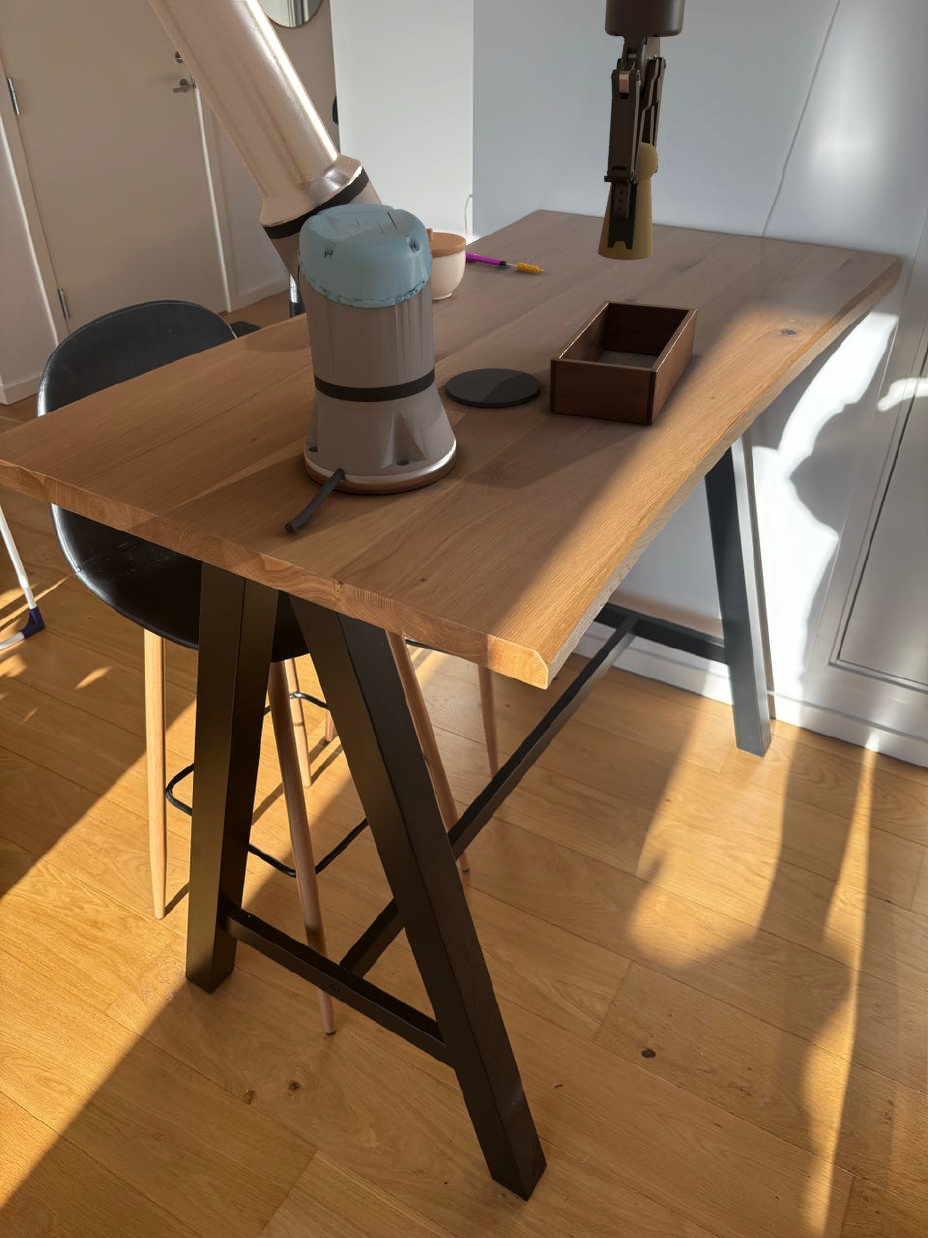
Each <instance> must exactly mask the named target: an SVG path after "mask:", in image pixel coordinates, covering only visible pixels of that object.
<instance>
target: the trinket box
mask: <svg viewBox="0 0 928 1238" xmlns="http://www.w3.org/2000/svg"><path fill="white" fill-rule="evenodd" d="M425 228H426V230H427V233H428V238H429V247H430V250H431V253H432V258H433V260H432V272H431V284H432V301H438V300H439V301H440V300H444V299H447V298H449V297H451V296H452V295H453V292H454V291H455V290H456V289H457V287H458V286H459V285H460V284H461V282H462V280H463V277H464V274H465V269H466V260H465V259H466V253H467V252H466V248H467V239H466V238H465V237H464V236H462V235H459V234H457V233H451V232H443V231H433V228H432V227H428V228H427V227H425Z"/></svg>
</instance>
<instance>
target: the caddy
mask: <svg viewBox="0 0 928 1238" xmlns="http://www.w3.org/2000/svg"><path fill="white" fill-rule="evenodd" d="M697 313H698V309H697V308H693V307H683V306H672V305H661V304H652V303H651V304H650V303H640V302H627V301H616V300H606V299H604V300H603V301H602V303H601V304H600V305H599V306H598V307H596V309H595V310H594V311H593V313H592V314H591V315H590V316H589V317H588V318H587V319H586V320H585V321H584V322H583V323H582V324H581V326H579V328H578V329H577V330H576V331H575V332H574V333H573V334H572V335H571V337H570V338H569V339H568V340H567V341H566V342H565V343H564V344H563V346H561V348H559V350H558V351H557V352H556V353H555V354H554V355H553V356H552V358H551V359H550V365H549V367H550V368H549V396H548V397H549V398H548V401H549V402H548V412H549V413H557V414H564V415H572V416H578V417H586V418H587V417H588V418H595V419H601V420H608V421H609V420H611V421H618V422H624V423H625V422H626V423H631V424H632V423H633V424H641V425H647V426H652V425H653V424H654V422H655V421H656V419H657V417H658V415H659V413H660V412H661V410H662V409H663V407H664V404H665V403H666V401H667V400H668V398H669V396H670V394H671V393H672V391H673V389H674V387H675V386H676V384H677V382H678V381H679V380H680V377H681V376H682V374H683V372H684V370H685V369H686V367H687V365H688V364H689V362H690V360H691V359H692V356H693V349H694V340H695V332H696V331H695V330H696V323H697V322H696V321H697ZM606 350H609V351H617V352H618V351H619V352H625V353H626V352H627V353H636V354H637V353H638V354H645V355H655V356H658V357H657V359H656V360H655V362H654V363H653V365H652V367H650V368H649V367H640V366H631V365H624V364H614V363H606V362H598V360H599V359H600V358H601V356H602V355H603V354H604V353H605V352H606Z"/></svg>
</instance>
